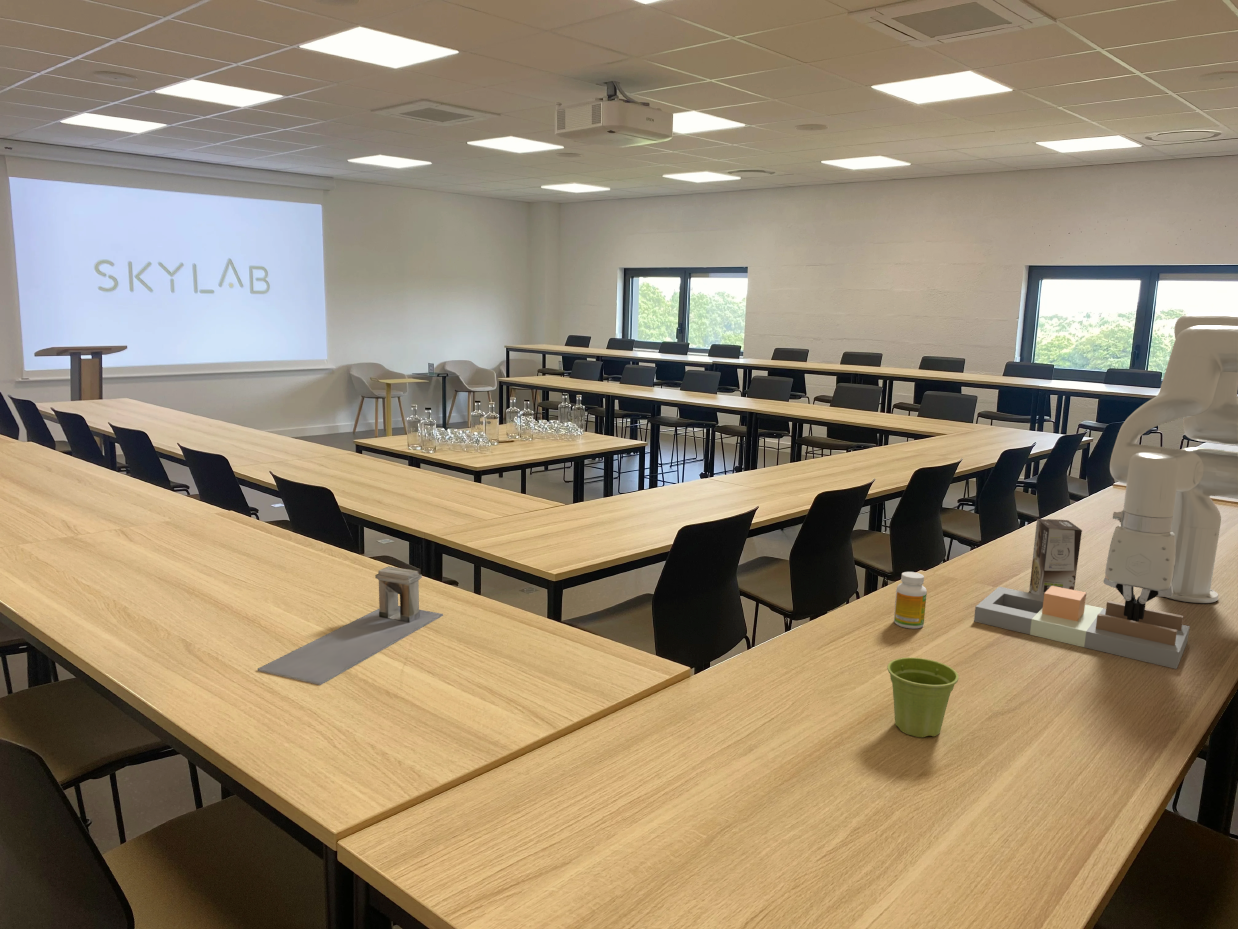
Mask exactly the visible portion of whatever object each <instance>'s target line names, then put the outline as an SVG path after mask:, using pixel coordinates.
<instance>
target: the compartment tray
mask: <svg viewBox="0 0 1238 929" xmlns="http://www.w3.org/2000/svg"><path fill="white" fill-rule="evenodd" d="M1043 601H1044V596H1042V595H1037V594H1032V593H1031V592H1027V591H1022V590H1017V589H1012V588H1007V587H1003V586H998V587H997V588H995V589H994V590H993V591H992V592H991V593H990V594H988V595H987V596H986V597H984V599H982V600H981V601H980V602H978V603H977V605H975V608H974V617H973V622H974V623H975V622H976V623H980V624H983V625H988V626H992V627H996V628H1001V629H1006V630H1009V631H1013V632H1019V633H1022V634H1027V635H1030V636H1035V637H1039V638H1043V639H1048V640H1052V641H1056V642H1059V643H1065V644H1069V645H1073V646H1077V647H1081V648H1086V649H1089V650H1094V651H1097V652H1098V651H1099V652H1103V653H1107V654H1109V655H1110V654H1112V655H1115V656H1120V657H1124V658H1128V659H1132V660H1136V661H1140V662H1146V663H1149V664H1153V665H1158V666H1163V667H1166V668H1170V669H1174V670H1177V669H1178V667H1179V664H1180V662H1181V660H1182V656H1183V654H1184V652H1185V649H1186V647H1187V644H1188V641H1189V635H1190V628H1191V626H1189V625H1185V624H1183V621H1184V615H1180V614H1175V613H1171V612H1165V611H1163V610H1162V611H1161V610H1157V609H1152V608H1146V607H1145V612H1144V618H1143V620H1142V619H1139V621H1138V622H1137V621H1132V620H1127V616H1124V608H1125V603H1122V602H1116V601H1113V600H1107V602H1106V607H1105V608H1103V607H1100V606H1094V605H1089V604H1085V608H1084V613H1083V615H1082V616H1081V617H1080V619H1079V620H1078V621H1073V620H1069V619H1064V618H1060V617H1055V616H1050V615H1046V614H1042V609H1043Z"/></svg>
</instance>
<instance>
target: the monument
mask: <svg viewBox="0 0 1238 929" xmlns="http://www.w3.org/2000/svg"><path fill="white" fill-rule="evenodd" d="M374 577H375V579H376V580H378V601H379V602H378V606H379V608H377V609H375V610H373V611H371V612H369V613H367V614H365V615H362V616H361V617H359V618H357V619H355V620H352V621H351V622H349V623H347V624H345V625H342V626H341V627H339V628H336V629H334V630H332V631H331V632H328V633H326V634H325V635H323V636H320V637H318V638H316V639H314V640H313V641H310V642H308V643H306V644H305V645H302V646H301V647H299V648H296V649H295V650H292V651H291V652H288V653H286V654H284V655H282V656H280V657H278V658H276V659H274V660H272V661H270V662H268V663H267V664H264V665H262V666H260V667H258V668H257V672H262V673H266V674H270V675H274V676H277V677H278V676H279V677H282V678H283V677H284V678H287V679H292V680H296V681H301V682H304V683H310V684H314V685H317V686H321V685H323V684H325V683H327V682H329V681H330V680H333V679H334V678H335V677H337V676H339V675H341V674H343V673H344V672H346V671H348V670H350V669H352V668H354V667H356V666H357V665H359V664H360V663H362V662H364V661H366V660H367V659H369V658H371V657H373V656H375V655H377V654H378V653H380V652H382V651H383V650H385V649H387V648H388V647H391V646H392V645H394V644H396V643H397V642H399V641H402V640H403V639H405V638H407V637H409V635H412V634H413V633H415V632H417V631H418V630H420V629H422V628H424V627H426V626H427V625H429V624H431V623H432V622H435V621H436V620H438V619H440V618H441V617H443V616H444V613H439V612H434V611H429V610H424V609H420V597H419V596H420V595H419V594H420V592H419V591H420V590H419V588H420V584H419V583H420V582H419V581H420V580H421V579H422V578H423V575H422V574H420V573H419V570H412V569H408V568H407V569H406V568H403V567H402V568H400V567H396V566H395V567H394V566H386V567H384V568H381V569H379V570H378V573H377V574H375V575H374ZM399 604H400V605H399Z"/></svg>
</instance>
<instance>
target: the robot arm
mask: <svg viewBox="0 0 1238 929" xmlns="http://www.w3.org/2000/svg"><path fill="white" fill-rule="evenodd" d="M1159 389H1160V390H1159V392H1158V394H1157V395H1156V396H1155V397H1153V398H1151V399H1149V400H1148V401H1146V402H1145V403H1143V404H1142V405H1140V406H1139V407H1138V408H1136V409H1135V410H1134V411H1133V412H1132V413H1131V414H1130V415H1129V416H1127V418H1126V419H1125V421H1123V423H1122V425H1121V426H1120V429H1119V432H1118V433H1117V437H1116V439H1115V443H1114V446H1113V448H1112V452H1111V457H1110V462H1109V472H1110V475H1111V477H1112V478H1113V480H1115V481H1117V482H1119V483H1121V484H1126V485H1125V486H1126V487H1125V494H1124V501H1123V502H1124V503H1123V509H1122V510H1121V511H1118V512H1117V511H1113V513H1112V520H1117V521H1119V523H1120V524H1119V525H1117V526H1116V527H1115V529H1114V531H1113V534H1112V537H1111V540H1110V544H1109V548H1108V553H1107V557H1106V558H1107V560H1106V564H1105V565H1106V566H1105V572H1104V573H1105V574H1104V575H1105V576H1104V579H1103V580H1102V582H1103V584H1105V585H1106V586H1108V587H1111V588H1113V589H1114V588H1115V589H1116V590H1117V591H1118V592H1119V593H1120V595H1121V596H1122V597H1123V600H1124V604H1125V608H1124V616H1127V620H1132V621H1137V622H1138V621H1139V619H1142V620H1143V618H1144V612H1145V608H1146V603H1147V602H1149V601H1151V600H1153V599H1154V598H1157V597H1160V598H1161V597H1164V598H1167V599H1170V600H1175V601H1180V602H1186V603H1193V604H1211V603H1216V601H1218V600H1219V593H1218V592H1217V591H1216V590H1214V589H1212V588H1211V587H1212V580H1213V575H1214V569H1215V564H1216V563H1215V562H1216V557H1217V556H1216V555H1217V550H1218V543H1219V538H1220V537H1219V535H1220V530H1221V524H1222V516H1221V513H1220V510H1219V508H1218V506H1217V505H1216V504H1215V502H1214V500H1212V498H1211V497H1221V498H1228V499H1236V500H1238V451H1234V450H1232V451H1231V450H1225V449H1215V448H1207V447H1197V446H1196V447H1195V446H1192V447H1184V448H1181V449H1179V448H1171V447H1164V446H1156V445H1155V446H1154V445H1147V444H1140V443H1139V444H1138V443H1137V442H1138V440H1139V439H1140V438H1141V436H1142V435H1143V434H1145V433H1146V432H1148V431H1149V430H1151V429H1153V428H1156V427H1158V426H1160V425H1163V424H1168V423H1171V422H1175V421H1178V420H1182V419H1183V423H1182V429H1183V433H1184V435H1185V436H1186V437H1187V438H1188V439H1190V440H1194V441H1198V442H1203V443H1209V444H1211V443H1212V444H1218V445H1219V444H1221V445H1228V446H1237V447H1238V312H1212V311H1211V312H1192V313H1187V314H1184V315H1182V316H1180V317H1179V318H1178V319H1177V320H1176V322H1175V325H1174V342H1173V346H1172V349H1171V352H1170V356H1169V359H1168V363H1167V366H1166V369H1165V371H1164V375H1163V379H1162V382H1161V385H1160V387H1159ZM1134 588H1139V589H1141V592H1140V594H1139V596H1138V597H1137V598H1136V596H1135V592H1134V590H1135V589H1134Z"/></svg>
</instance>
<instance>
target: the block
mask: <svg viewBox="0 0 1238 929" xmlns="http://www.w3.org/2000/svg"><path fill="white" fill-rule="evenodd" d="M1086 598H1087V592H1085V591H1080V590H1075V589H1074V590H1071V589H1066V588H1061V587H1056V586H1051V587H1050V588H1049V589H1048V590H1047V591H1046V592H1045V593H1044V601H1043V609H1042V614H1046V615H1050V616H1055V617H1060V618H1064V619H1069V620H1073V621H1078V620H1079V619H1080V617H1081V616H1082V615H1083V613H1084V608H1085V605H1086Z"/></svg>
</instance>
